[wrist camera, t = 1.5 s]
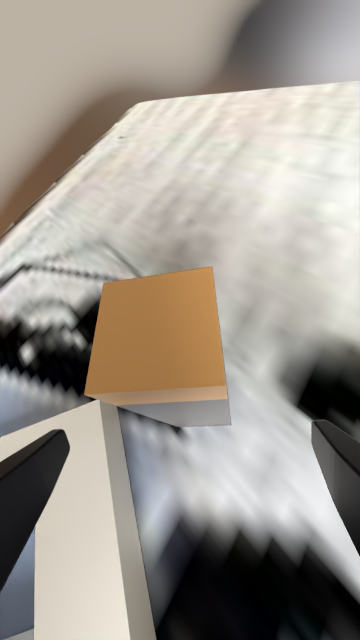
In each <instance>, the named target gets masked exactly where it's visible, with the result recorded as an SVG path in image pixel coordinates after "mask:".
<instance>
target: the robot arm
mask: <svg viewBox="0 0 360 640" xmlns="http://www.w3.org/2000/svg"><path fill="white" fill-rule="evenodd" d="M312 446H313V449H314V452H315V455H316V457H317V460H318V463H319V465H320V468H321V471H322V473H323V476H324V479H325V481H326V484H327V487H328V489H329V492H330V495H331V497H332V500H333V502H334V504H335V506H336V509H337V511H338V513H339V515H340V517H341V519H342V521H343V523H344V525H345V527H346V529H347V531H348V533H349V535H350V537H351V540H352V542H353V544H354V546H355V548H356V550H357V552H358V554H359V556H360V442H358V441H357V440H355V439H354V438H352V437H351V436H349V435H348V434H347V433H345V432H344V431H342V430H341V429H339V428H338V427H336V426H335V425H333V424H332V423H330V422H329V421H327V420H313V421H312ZM69 452H70V444H69V441H68V438H67V435H66V433H65V431H64V430H63V429H53V430H51V431H49V432H48V433H46V434H44V435H43V436H41V437H40V438H38V439H36V440H35V441H33V442H32V443H30V444H28V445H27V446H25V447H23V448H22V449H20V450H19V451H17V452H15V453H14V454H12V455H11V456H9V457H7V458H6V459H4V460H2V461H1V462H0V593H1V591H2V589H3V587H4V585H5V583H6V581H7V579H8V577H9V575H10V574H11V572H12V570H13V568H14V566H15V564H16V562H17V560H18V558H19V556H20V554H21V552H22V550H23V549H24V547H25V545H26V543H27V541H28V539H29V537H30V535H31V533H32V531H33V529H34V527H35V526H36V524H37V522H38V520H39V518H40V516H41V514H42V512H43V510H44V508H45V506H46V504H47V502H48V500H49V498H50V496H51V494H52V492H53V490H54V488H55V485H56V483H57V481H58V478H59V476H60V473H61V471H62V469H63V466H64V464H65V462H66V459H67V457H68V455H69Z"/></svg>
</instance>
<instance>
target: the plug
mask: <svg viewBox="0 0 360 640" xmlns="http://www.w3.org/2000/svg"><path fill="white" fill-rule="evenodd" d="M84 395H86V396H89V397H92V398H95V399H98V400H101V401H104V402H106V403H109V404H112V405H115V406H118V407H121V408H124V409H127V410H130V411H133V412H136V413H139V414H142V415H144V416H147V417H150V418H153V419H156V420H159V421H162V422H165V423H168V424H171V425H174V426H177V427H194V426H221V425H231V418H230V410H229V401H228V393H227V384H226V375H225V367H224V359H223V351H222V343H221V334H220V326H219V318H218V310H217V302H216V294H215V285H214V277H213V269H212V267H206V268H199V269H193V270H186V271H179V272H173V273H166V274H160V275H153V276H147V277H140V278H134V279H127V280H121V281H114V282H107V283H104V284H103V289H102V295H101V301H100V307H99V312H98V318H97V324H96V329H95V335H94V341H93V347H92V352H91V358H90V364H89V370H88V375H87V381H86V387H85V393H84Z"/></svg>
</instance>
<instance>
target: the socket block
mask: <svg viewBox="0 0 360 640" xmlns="http://www.w3.org/2000/svg"><path fill="white" fill-rule="evenodd" d="M53 429H63V430H64V431H65V433H66V435H67V438H68V441H69V444H70V452H69V455H68V457H67V459H66V462H65V464H64V466H63V469H62V471H61V473H60V476H59V478H58V481H57V483H56V485H55V488H54V490H53V492H52V494H51V496H50V498H49V500H48V502H47V504H46V506H45V508H44V510H43V512H42V514H41V516H40V518H39V520H38V522H37V524H36V526H35V592H34V628H33V629H31V630H28V631H25V632H23V633H20V634H17V635H15V636H12V637H9V638H6V639H4V640H156V636H155V630H154V624H153V618H152V612H151V606H150V600H149V594H148V588H147V582H146V576H145V570H144V564H143V558H142V552H141V546H140V540H139V534H138V528H137V522H136V516H135V510H134V504H133V498H132V492H131V487H130V481H129V475H128V469H127V463H126V457H125V451H124V445H123V439H122V433H121V427H120V421H119V415H118V409H117V406H115V405H112V404H109V403H106V402H104V401H101V400H98V399H97V400H95V401H92V402H90V403H87V404H85V405H82V406H79V407H77V408H74V409H72V410H69V411H67V412H64V413H61V414H59V415H56V416H54V417H51V418H48V419H46V420H43V421H41V422H38V423H36V424H33V425H30V426H28V427H25V428H23V429H20V430H18V431H15V432H12V433H10V434H7V435H5V436H2V437H0V462H1V461H2V460H4V459H6V458H7V457H9V456H11V455H12V454H14V453H15V452H17V451H19V450H20V449H22V448H23V447H25V446H27V445H28V444H30V443H32V442H33V441H35V440H36V439H38V438H40V437H41V436H43V435H44V434H46V433H48V432H49V431H51V430H53Z"/></svg>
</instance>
